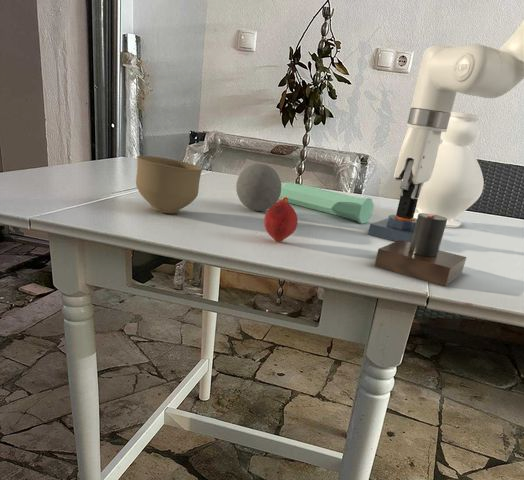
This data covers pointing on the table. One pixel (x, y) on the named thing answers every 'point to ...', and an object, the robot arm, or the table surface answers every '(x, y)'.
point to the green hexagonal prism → (328, 201)
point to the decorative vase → (453, 172)
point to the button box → (393, 229)
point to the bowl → (167, 183)
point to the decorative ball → (258, 187)
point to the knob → (427, 234)
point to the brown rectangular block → (420, 263)
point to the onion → (280, 220)
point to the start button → (405, 218)
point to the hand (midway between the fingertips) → (404, 217)
